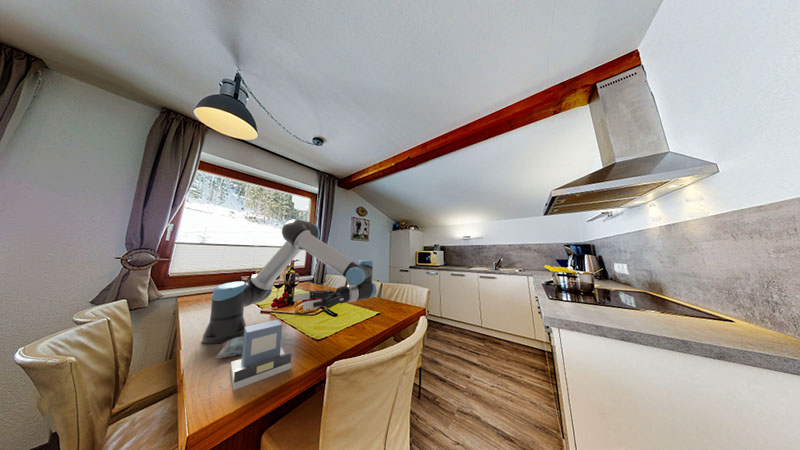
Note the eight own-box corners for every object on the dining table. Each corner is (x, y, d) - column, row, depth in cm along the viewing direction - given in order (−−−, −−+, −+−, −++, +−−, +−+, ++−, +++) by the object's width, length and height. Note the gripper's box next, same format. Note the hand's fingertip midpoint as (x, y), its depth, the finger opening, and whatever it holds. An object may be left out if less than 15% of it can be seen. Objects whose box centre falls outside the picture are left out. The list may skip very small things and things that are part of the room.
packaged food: (214, 364, 69) (216, 349, 70) (222, 349, 80) (224, 336, 80) (245, 357, 74) (247, 343, 75) (249, 344, 84) (250, 331, 85)
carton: (241, 364, 66) (244, 326, 68) (275, 353, 73) (278, 319, 74) (243, 372, 62) (247, 332, 63) (279, 360, 69) (282, 324, 70)
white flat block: (230, 368, 67) (232, 352, 68) (280, 352, 77) (281, 338, 78) (233, 391, 57) (235, 372, 57) (290, 369, 67) (291, 353, 67)
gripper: (360, 309, 84) (307, 320, 70) (334, 296, 102) (289, 303, 88) (361, 291, 85) (309, 299, 70) (335, 281, 103) (290, 286, 89)
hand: (298, 301), depth 79 cm, fingers open, 13 cm apart
